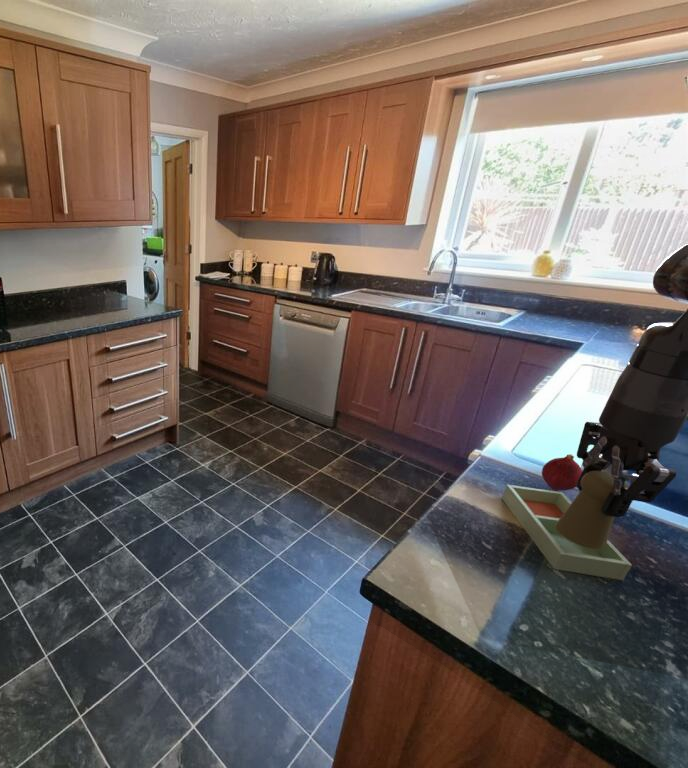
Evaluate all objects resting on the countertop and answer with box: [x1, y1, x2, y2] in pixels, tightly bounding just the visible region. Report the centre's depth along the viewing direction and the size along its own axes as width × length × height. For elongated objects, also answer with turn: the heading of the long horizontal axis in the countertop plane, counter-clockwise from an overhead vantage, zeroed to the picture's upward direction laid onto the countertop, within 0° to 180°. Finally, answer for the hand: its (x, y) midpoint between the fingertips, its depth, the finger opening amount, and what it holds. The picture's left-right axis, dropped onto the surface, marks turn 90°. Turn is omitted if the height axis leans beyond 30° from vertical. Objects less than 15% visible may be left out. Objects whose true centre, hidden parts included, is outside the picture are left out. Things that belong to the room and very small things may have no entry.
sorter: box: [501, 484, 633, 581], centre depth 71 cm, size 9×17×3 cm, turn 167°
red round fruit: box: [541, 453, 582, 492], centre depth 81 cm, size 6×6×8 cm
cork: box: [555, 471, 630, 549], centre depth 64 cm, size 6×6×11 cm
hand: (597, 501), depth 64 cm, fingers closed on cork, 5 cm apart
